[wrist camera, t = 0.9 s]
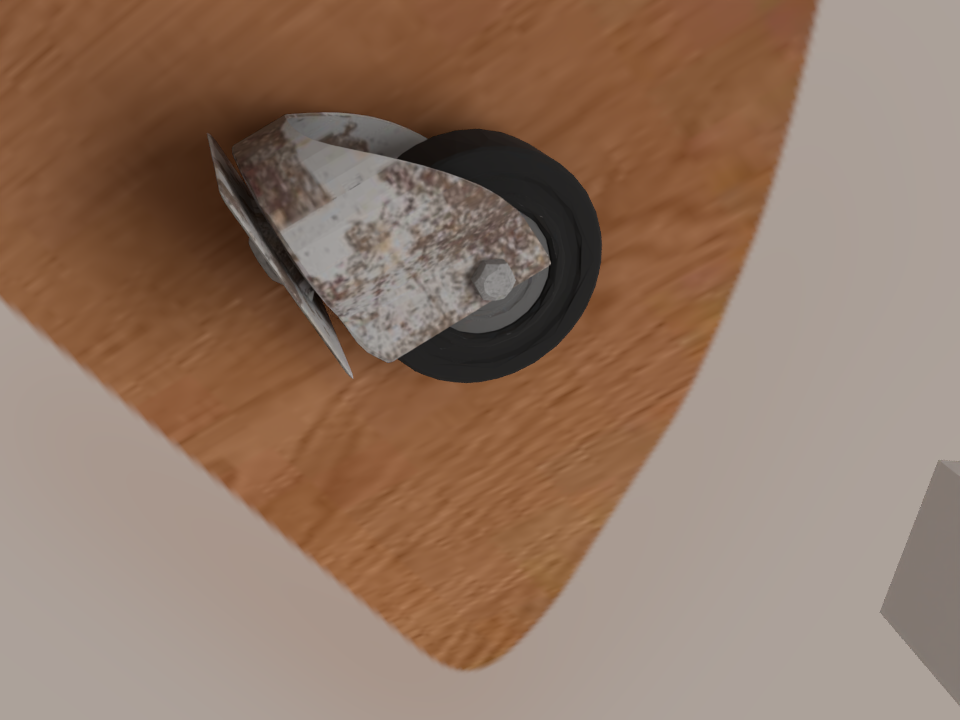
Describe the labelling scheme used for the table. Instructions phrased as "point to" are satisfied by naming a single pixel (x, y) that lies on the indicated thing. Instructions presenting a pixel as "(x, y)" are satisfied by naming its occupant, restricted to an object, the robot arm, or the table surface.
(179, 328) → the table surface
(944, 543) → the robot arm
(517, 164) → the caster wheel
